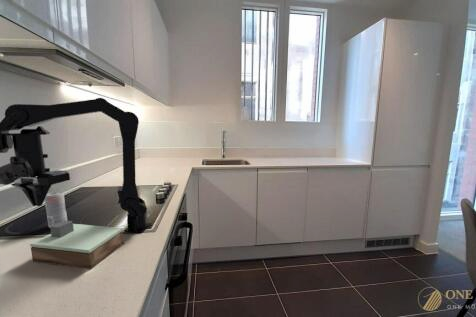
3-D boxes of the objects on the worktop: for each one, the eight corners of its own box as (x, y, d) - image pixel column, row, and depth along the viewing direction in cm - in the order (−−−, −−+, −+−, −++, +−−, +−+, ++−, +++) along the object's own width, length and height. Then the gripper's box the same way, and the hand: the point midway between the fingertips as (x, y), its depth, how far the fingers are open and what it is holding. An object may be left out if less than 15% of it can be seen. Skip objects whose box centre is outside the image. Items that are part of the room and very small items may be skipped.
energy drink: (65, 221, 83) (61, 190, 82) (69, 225, 80) (65, 193, 78) (47, 226, 79) (42, 194, 78) (50, 230, 76) (45, 197, 74)
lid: (72, 226, 70) (70, 214, 69) (122, 230, 66) (121, 218, 66) (30, 246, 58) (28, 232, 58) (89, 253, 55) (87, 238, 54)
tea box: (73, 238, 70) (72, 226, 70) (124, 243, 67) (122, 231, 67) (32, 261, 59) (30, 247, 58) (91, 269, 55) (89, 254, 55)
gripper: (-38, 155, 55) (-25, 214, 57) (23, 156, 51) (33, 219, 54) (15, 150, 66) (23, 200, 68) (68, 150, 62) (74, 203, 65)
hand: (37, 205), depth 63 cm, fingers closed
